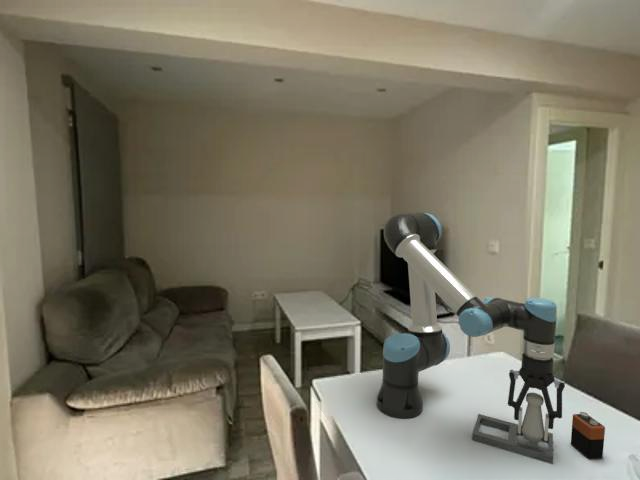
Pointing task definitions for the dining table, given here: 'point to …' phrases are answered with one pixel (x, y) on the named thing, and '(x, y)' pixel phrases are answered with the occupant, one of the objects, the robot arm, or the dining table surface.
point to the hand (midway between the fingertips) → (532, 434)
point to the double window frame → (510, 439)
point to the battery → (587, 435)
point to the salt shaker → (533, 419)
